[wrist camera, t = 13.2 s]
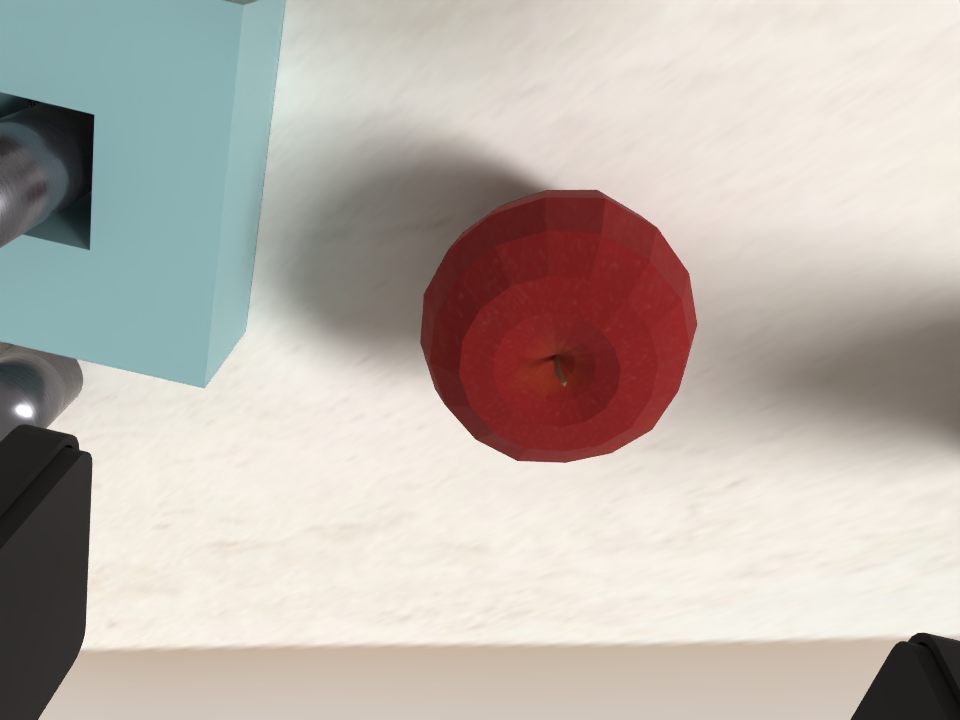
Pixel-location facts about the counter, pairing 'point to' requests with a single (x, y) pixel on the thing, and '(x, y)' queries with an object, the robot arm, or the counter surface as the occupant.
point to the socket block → (144, 178)
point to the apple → (558, 326)
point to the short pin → (35, 387)
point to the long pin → (42, 165)
